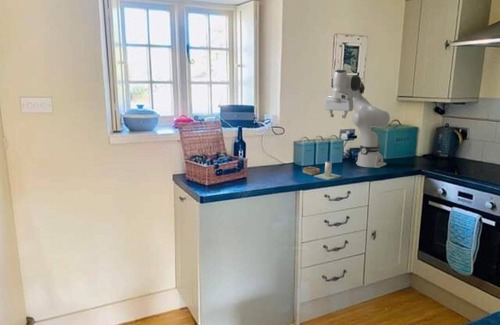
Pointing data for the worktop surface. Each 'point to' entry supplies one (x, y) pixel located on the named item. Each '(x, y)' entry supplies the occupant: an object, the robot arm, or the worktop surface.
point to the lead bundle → (328, 168)
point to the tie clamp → (311, 170)
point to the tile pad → (327, 177)
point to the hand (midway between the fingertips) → (337, 117)
